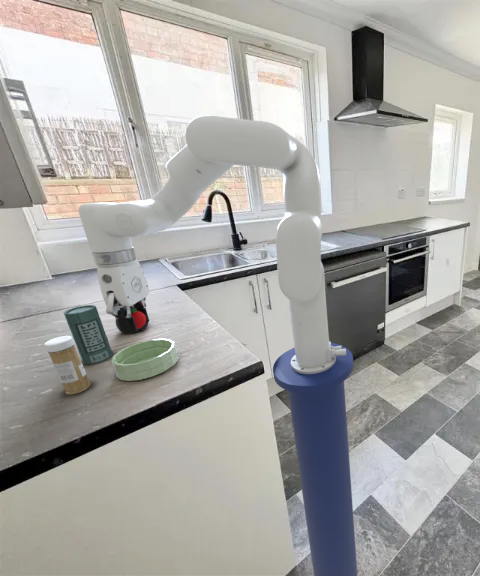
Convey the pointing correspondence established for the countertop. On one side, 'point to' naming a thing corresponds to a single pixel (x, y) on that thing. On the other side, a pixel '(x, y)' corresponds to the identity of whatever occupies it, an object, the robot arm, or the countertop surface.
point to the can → (88, 334)
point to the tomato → (138, 318)
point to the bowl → (145, 359)
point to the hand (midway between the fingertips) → (136, 326)
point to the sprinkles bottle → (67, 364)
